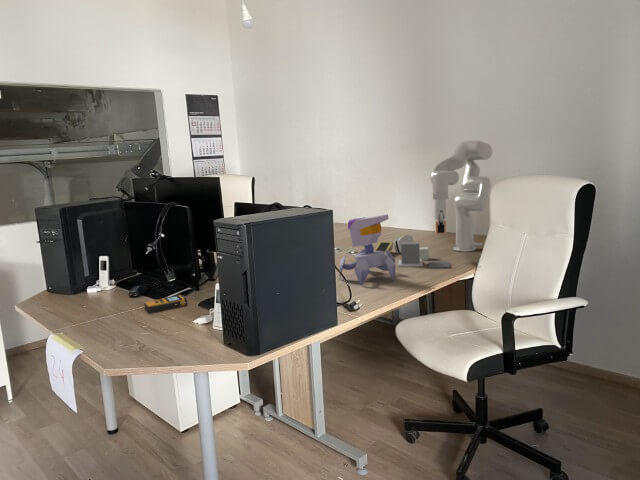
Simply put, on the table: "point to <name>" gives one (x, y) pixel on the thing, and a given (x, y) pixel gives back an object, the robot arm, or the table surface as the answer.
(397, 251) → the white curved block
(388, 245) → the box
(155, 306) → the electronic device
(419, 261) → the mounted unit
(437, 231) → the terracotta block
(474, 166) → the robot arm
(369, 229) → the robotic device
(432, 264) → the mat
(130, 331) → the table surface
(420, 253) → the grey block
